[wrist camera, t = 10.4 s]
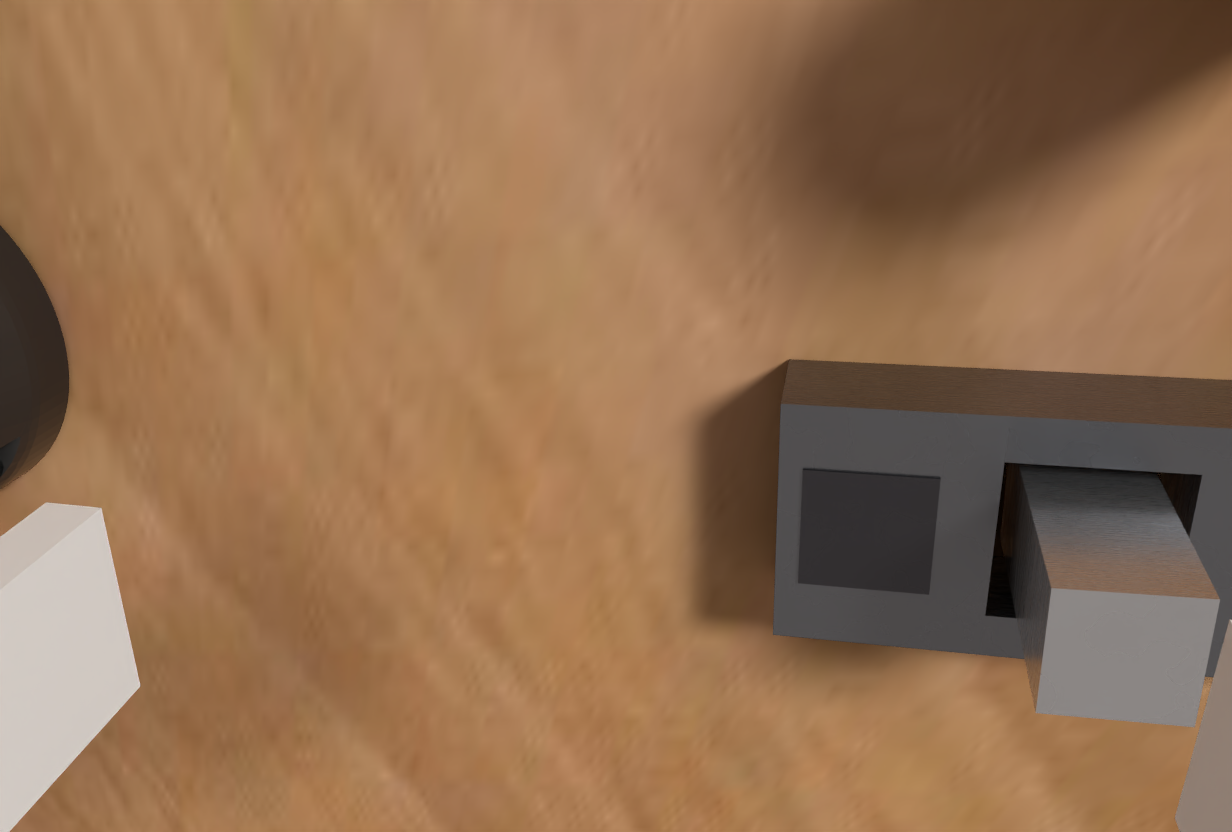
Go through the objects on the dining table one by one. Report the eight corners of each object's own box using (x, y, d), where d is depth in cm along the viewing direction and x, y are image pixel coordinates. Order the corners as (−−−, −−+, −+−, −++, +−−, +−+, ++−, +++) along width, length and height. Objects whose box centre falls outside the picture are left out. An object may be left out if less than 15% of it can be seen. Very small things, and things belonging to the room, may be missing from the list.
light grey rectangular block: (1000, 538, 41) (1035, 712, 32) (1010, 433, 39) (1051, 588, 30) (1122, 545, 40) (1194, 726, 31) (1139, 438, 38) (1220, 599, 29)
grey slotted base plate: (781, 575, 43) (772, 636, 40) (789, 359, 40) (780, 404, 36) (1351, 624, 39) (1400, 697, 36) (1418, 389, 36) (1481, 443, 32)
